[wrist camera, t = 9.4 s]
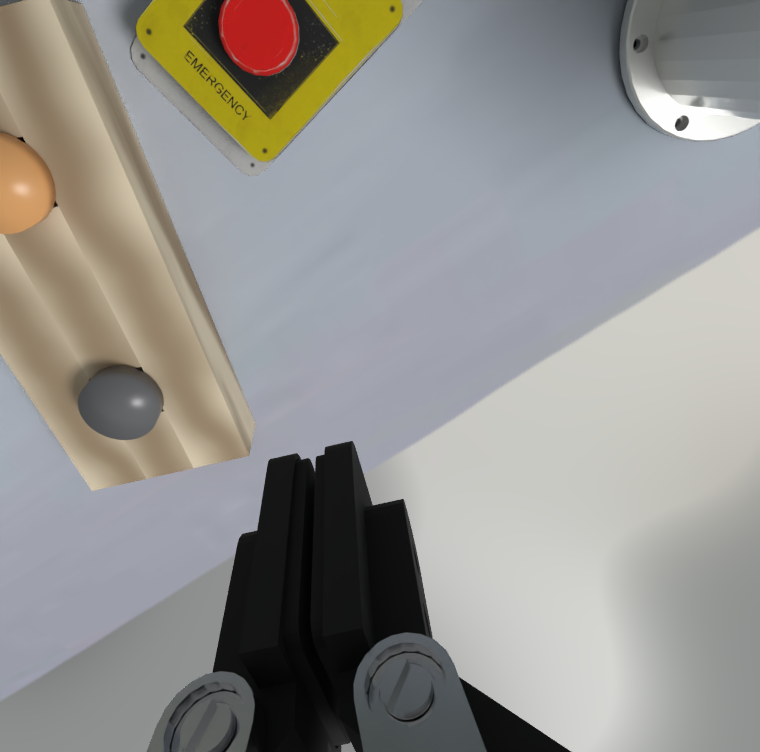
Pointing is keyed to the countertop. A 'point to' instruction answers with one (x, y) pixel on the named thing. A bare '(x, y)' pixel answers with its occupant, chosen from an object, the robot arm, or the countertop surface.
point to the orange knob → (23, 186)
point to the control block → (103, 265)
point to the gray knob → (121, 402)
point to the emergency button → (258, 64)
